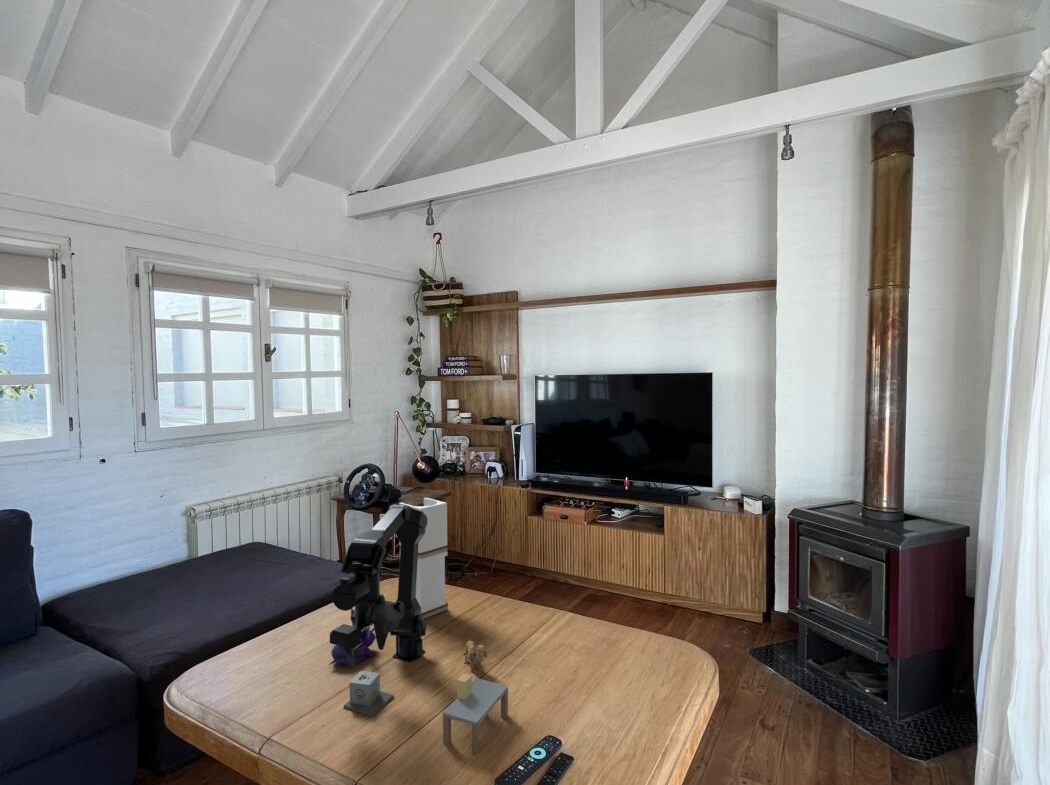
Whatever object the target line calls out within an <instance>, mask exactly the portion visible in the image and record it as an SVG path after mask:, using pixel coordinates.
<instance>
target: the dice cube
mask: <svg viewBox="0 0 1050 785" xmlns="http://www.w3.org/2000/svg"><path fill="white" fill-rule="evenodd" d="M380 675H381V673H380V672H373V671H365V670H364V671H362V670H360V671H359V672H358V673H357V674H356V675H355V676H354V677H353V678H352V679H351V680H350V682H349V701H350V704H357V705H364V706H370V705H371V704H372V703H373V702H374V701H375V699H376V698H377V697H378V696H379V694H380V691H381V683H380V681H381V680H380V679H381V676H380Z"/></svg>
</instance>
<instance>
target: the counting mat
mask: <svg viewBox="0 0 1050 785" xmlns="http://www.w3.org/2000/svg"><path fill="white" fill-rule="evenodd" d="M393 698H395V695H394V694H392V693H389V692H386V691H382V690H380V694H379V696H378V697H377V698H376V699H375V701H374V702H373V703H372V704H371V705H370V706H364V705H357V704H350V700H348V701H347V702H346V703H345V704H343V708H344V709H346V710H350V711H353V712H356V713H359V714H362V715H366V716H368V717H373V716H374V715H375V714H376V713H377V712H379V710H381V709H382V708H383V707H384V706H386V705H387V704H388V703H389V702H390V701H392V699H393Z"/></svg>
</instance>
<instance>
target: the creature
mask: <svg viewBox="0 0 1050 785" xmlns="http://www.w3.org/2000/svg"><path fill="white" fill-rule="evenodd" d="M354 614H355V609H353V608H352V609H350V617H351V616H352V615H354ZM351 624H352V625H351V626H353V625H355V624H356V623H355V621H351ZM370 628H371V626H370V627H368V628H366V629H365V630H363V631H362V638H361V640H360V641H362V643H361V644H360V646H359V647H358V662H357V663H359V662H361V661H363V660H364V658H365V657H373V656H375V654H376V652H377V649H375V650H373V649H374V648H373V649H370V647H371V646H372V645H373V644H374V641H375V640H376V635H375V629H374V627H372V629H370ZM363 654H364V655H363ZM330 655H331V657H332V659H333V660H331V662H330V663H329V664H328V666H330V665H332V664H334V663H337V664H339V665H346V666H348V667H351V665H350V663H349V661H348V660H347V658H346V656H345V654H344V652H343V651H342V649H341V648H340V647H339V646H338V645H333V646H332V648H331V650H330Z"/></svg>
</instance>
